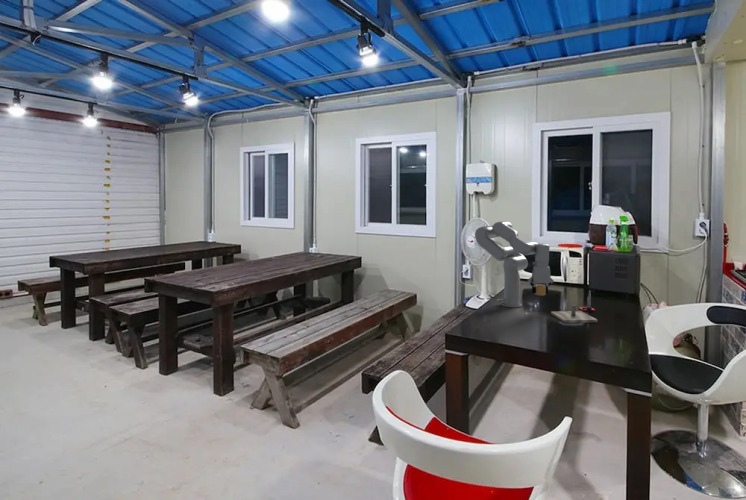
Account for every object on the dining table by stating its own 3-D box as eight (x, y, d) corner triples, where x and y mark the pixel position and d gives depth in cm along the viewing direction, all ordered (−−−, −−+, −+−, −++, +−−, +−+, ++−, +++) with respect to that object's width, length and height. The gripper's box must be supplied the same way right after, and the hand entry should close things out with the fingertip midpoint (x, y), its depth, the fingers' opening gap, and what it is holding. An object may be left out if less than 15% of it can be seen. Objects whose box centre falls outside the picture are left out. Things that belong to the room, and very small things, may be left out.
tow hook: (577, 308, 266) (582, 311, 256) (577, 288, 265) (582, 290, 255) (591, 308, 264) (596, 312, 255) (592, 288, 263) (597, 291, 254)
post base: (565, 322, 234) (565, 309, 233) (550, 314, 252) (551, 301, 251) (597, 322, 234) (598, 309, 233) (580, 313, 252) (581, 301, 251)
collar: (536, 295, 254) (537, 287, 253) (532, 292, 260) (532, 284, 259) (547, 295, 254) (547, 287, 253) (542, 292, 260) (543, 284, 259)
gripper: (529, 265, 250) (528, 294, 253) (558, 265, 251) (556, 294, 253) (525, 263, 258) (523, 291, 260) (553, 263, 258) (551, 291, 261)
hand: (539, 292), depth 257 cm, fingers closed on collar, 6 cm apart
